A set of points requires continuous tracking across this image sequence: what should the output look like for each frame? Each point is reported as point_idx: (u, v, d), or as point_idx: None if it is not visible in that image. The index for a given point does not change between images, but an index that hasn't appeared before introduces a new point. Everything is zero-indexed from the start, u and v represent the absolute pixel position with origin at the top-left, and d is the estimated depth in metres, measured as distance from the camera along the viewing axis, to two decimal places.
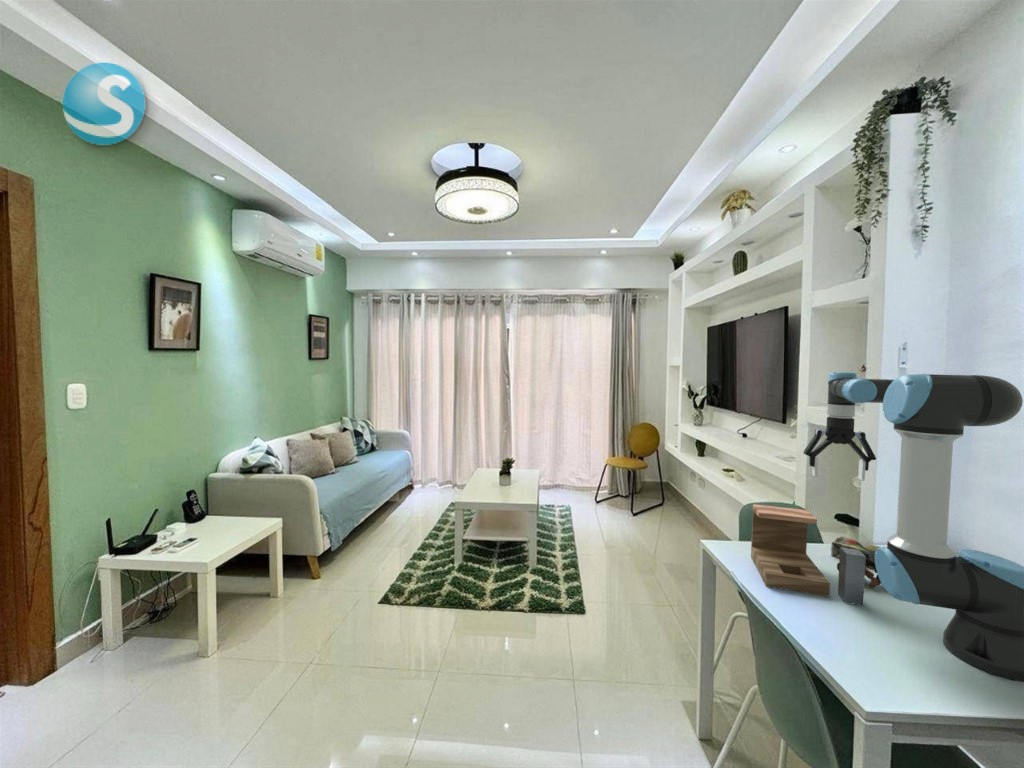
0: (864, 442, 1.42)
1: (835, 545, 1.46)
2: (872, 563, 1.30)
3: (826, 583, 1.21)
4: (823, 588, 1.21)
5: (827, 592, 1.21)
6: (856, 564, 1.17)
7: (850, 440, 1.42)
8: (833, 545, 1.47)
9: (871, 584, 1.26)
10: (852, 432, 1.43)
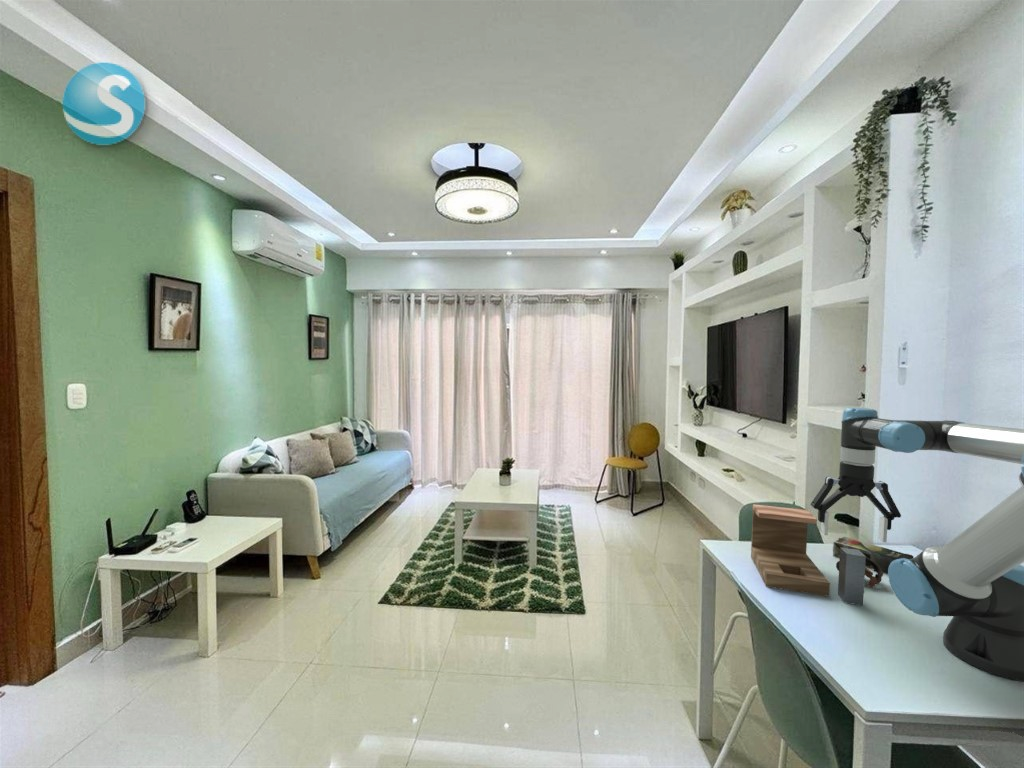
0: (886, 495, 1.15)
1: (837, 545, 1.46)
2: (871, 562, 1.31)
3: (826, 583, 1.21)
4: (823, 588, 1.21)
5: (827, 592, 1.21)
6: (856, 564, 1.17)
7: (869, 492, 1.16)
8: (835, 545, 1.47)
9: (870, 583, 1.26)
10: (871, 482, 1.16)
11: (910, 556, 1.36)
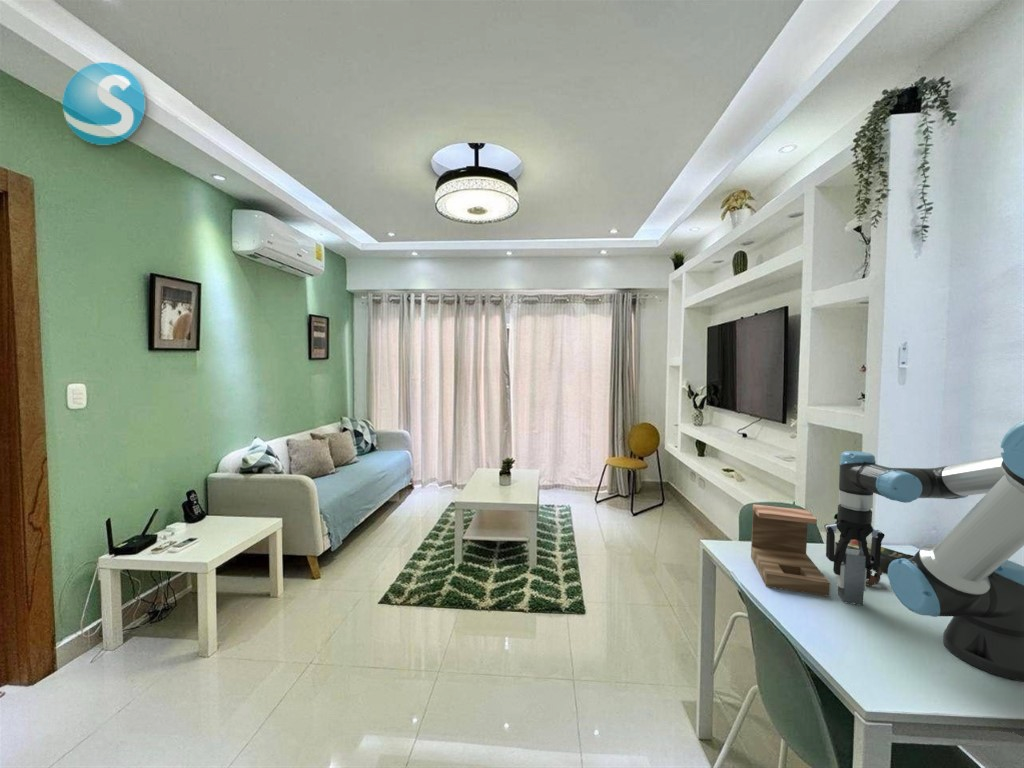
0: (877, 544, 1.16)
1: None
2: None
3: (826, 583, 1.21)
4: (823, 588, 1.21)
5: (827, 592, 1.21)
6: (856, 564, 1.17)
7: (863, 538, 1.16)
8: (836, 545, 1.47)
9: (869, 582, 1.27)
10: (871, 527, 1.16)
11: None
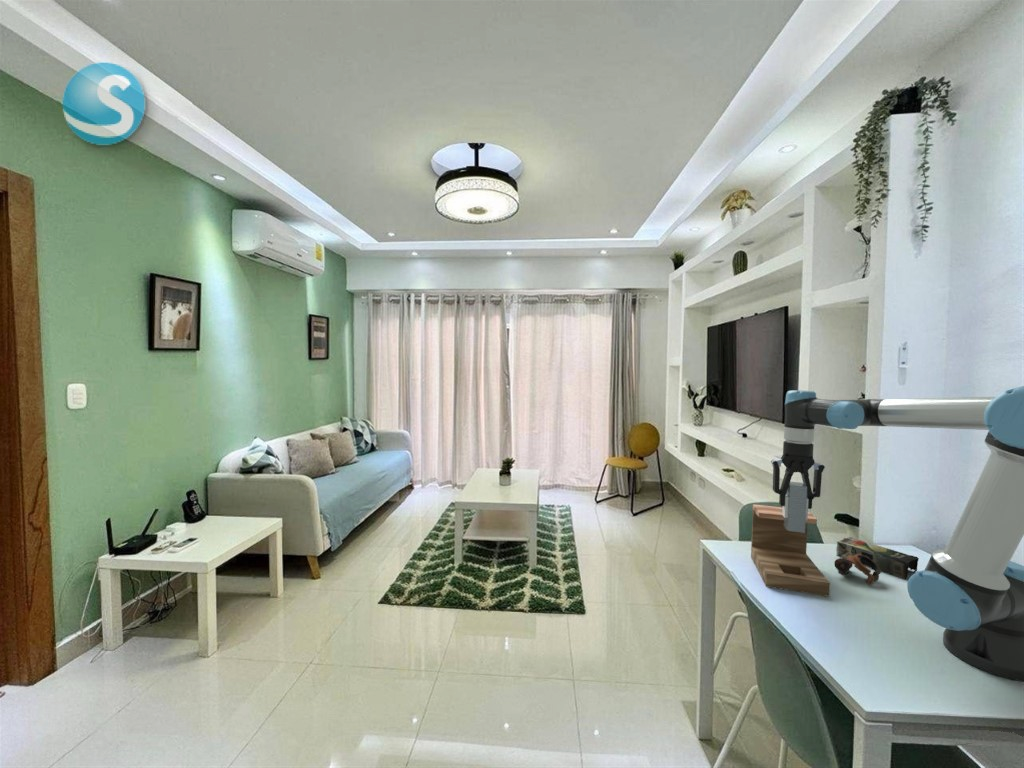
0: (818, 475, 1.24)
1: (840, 545, 1.47)
2: (868, 560, 1.32)
3: (826, 583, 1.21)
4: (823, 588, 1.21)
5: (827, 592, 1.21)
6: (798, 494, 1.25)
7: (805, 470, 1.25)
8: (838, 545, 1.47)
9: (868, 581, 1.28)
10: (812, 460, 1.24)
11: (915, 558, 1.35)
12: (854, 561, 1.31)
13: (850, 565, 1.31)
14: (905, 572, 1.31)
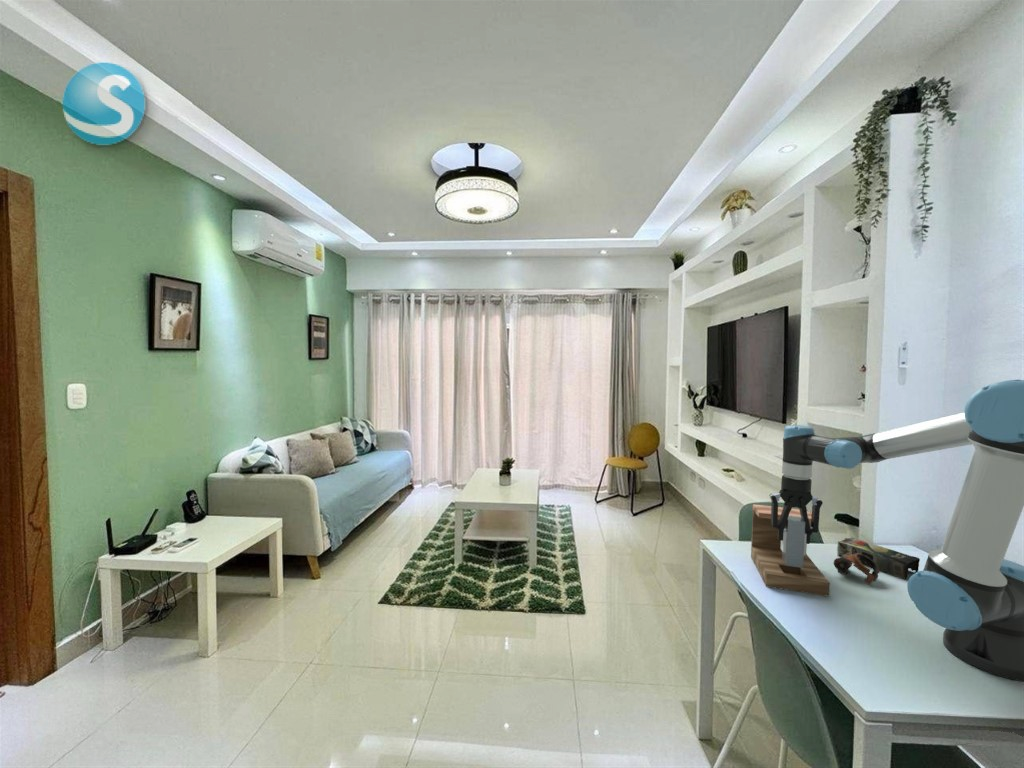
0: (816, 511, 1.25)
1: (841, 545, 1.47)
2: (867, 559, 1.33)
3: (826, 583, 1.21)
4: (823, 588, 1.21)
5: (827, 592, 1.21)
6: (797, 529, 1.25)
7: (803, 505, 1.25)
8: (839, 545, 1.47)
9: (867, 580, 1.28)
10: (810, 495, 1.25)
11: (916, 558, 1.34)
12: (853, 560, 1.31)
13: (849, 564, 1.31)
14: (905, 572, 1.31)
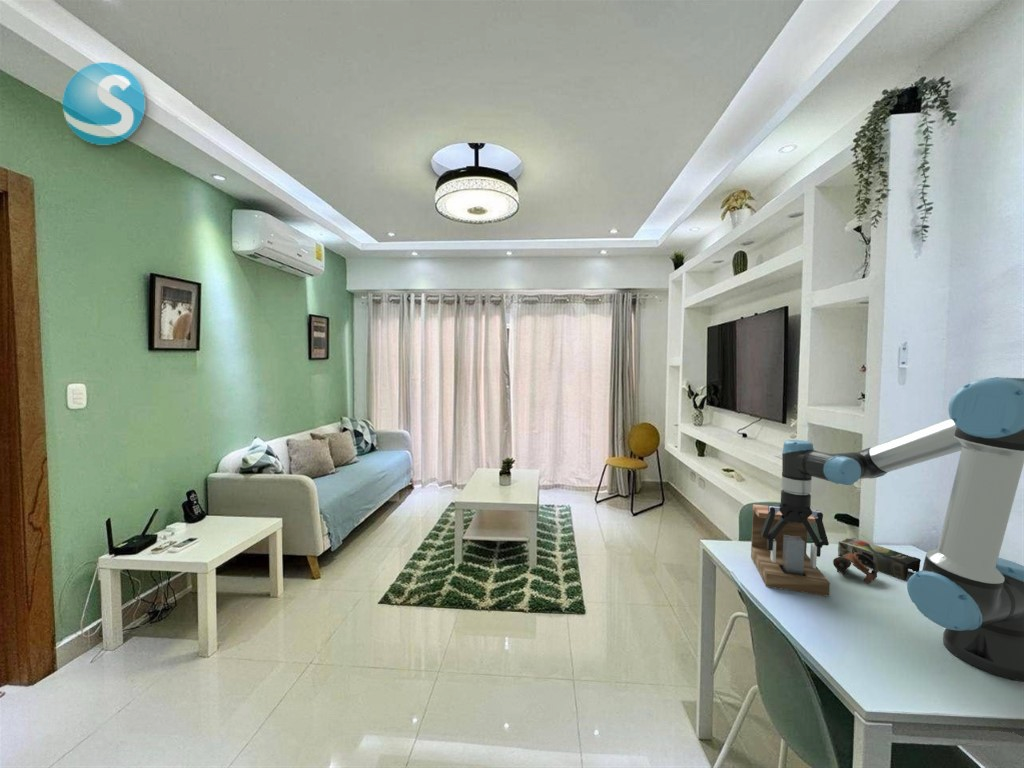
0: (819, 524, 1.24)
1: (842, 545, 1.47)
2: (866, 558, 1.33)
3: (826, 583, 1.21)
4: (823, 588, 1.21)
5: (827, 592, 1.21)
6: (796, 549, 1.26)
7: (805, 520, 1.25)
8: (840, 545, 1.47)
9: (866, 579, 1.29)
10: (809, 510, 1.25)
11: (916, 559, 1.34)
12: (853, 560, 1.32)
13: (849, 564, 1.31)
14: (905, 573, 1.31)
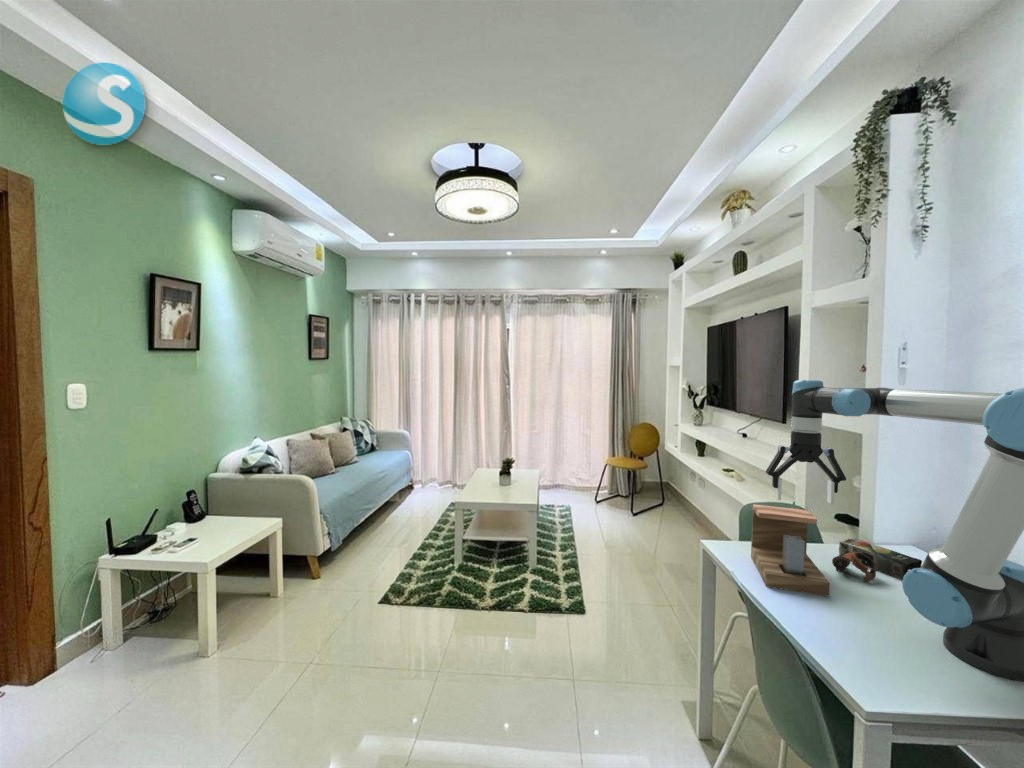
0: (833, 460, 1.24)
1: (843, 545, 1.46)
2: (865, 557, 1.34)
3: (826, 583, 1.21)
4: (823, 588, 1.21)
5: (827, 592, 1.21)
6: (796, 549, 1.26)
7: (817, 458, 1.24)
8: (840, 545, 1.47)
9: (865, 578, 1.29)
10: (819, 449, 1.25)
11: (917, 560, 1.33)
12: (852, 559, 1.32)
13: (848, 563, 1.32)
14: (904, 573, 1.30)
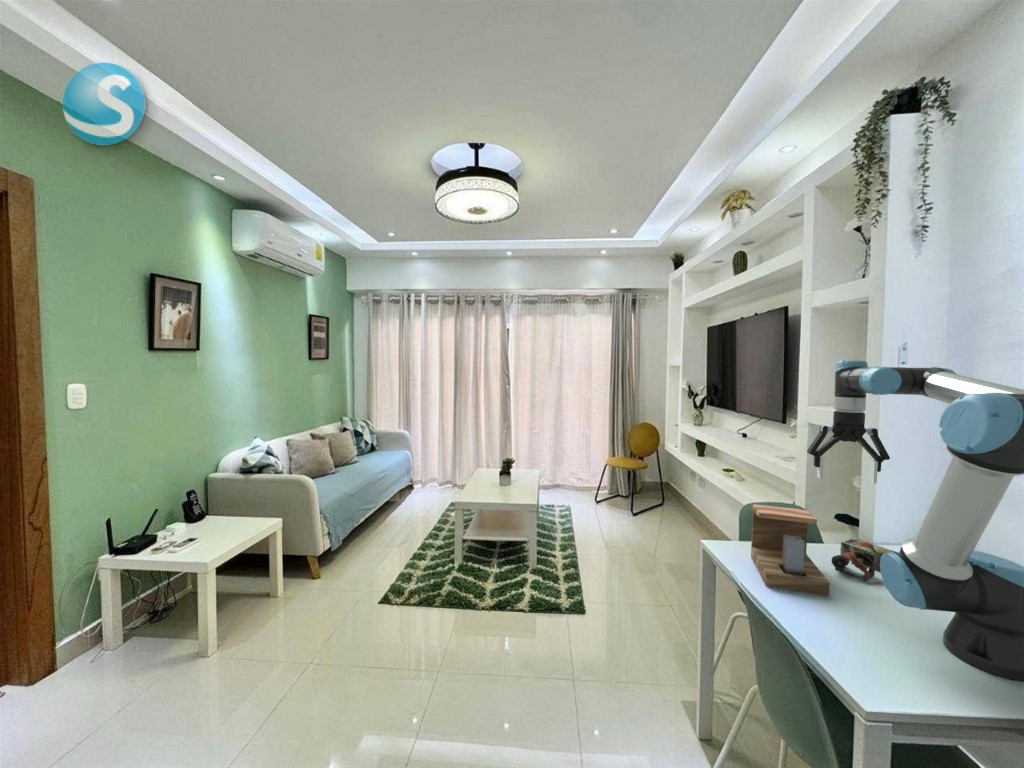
0: (876, 440, 1.25)
1: (844, 545, 1.46)
2: (864, 556, 1.35)
3: (826, 583, 1.21)
4: (823, 588, 1.21)
5: (827, 592, 1.21)
6: (796, 549, 1.26)
7: (860, 437, 1.26)
8: (842, 545, 1.47)
9: (864, 577, 1.30)
10: (862, 428, 1.26)
11: None
12: (851, 558, 1.33)
13: (847, 562, 1.33)
14: None
